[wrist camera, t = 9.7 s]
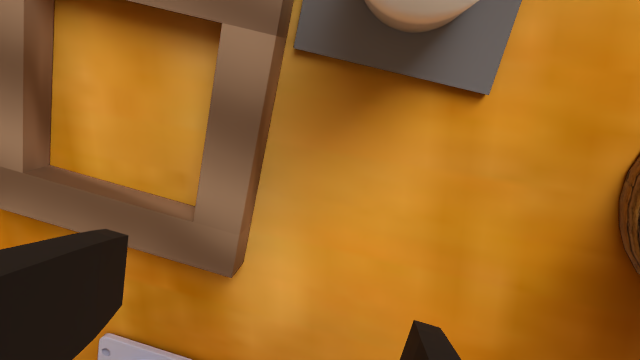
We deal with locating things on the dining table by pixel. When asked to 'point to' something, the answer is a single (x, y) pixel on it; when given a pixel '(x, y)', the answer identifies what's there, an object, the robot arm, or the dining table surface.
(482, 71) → the mat
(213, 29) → the dining table surface
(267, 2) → the jug holder
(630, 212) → the wooden mug
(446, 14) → the jug
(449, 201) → the dining table surface
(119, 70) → the dining table surface
